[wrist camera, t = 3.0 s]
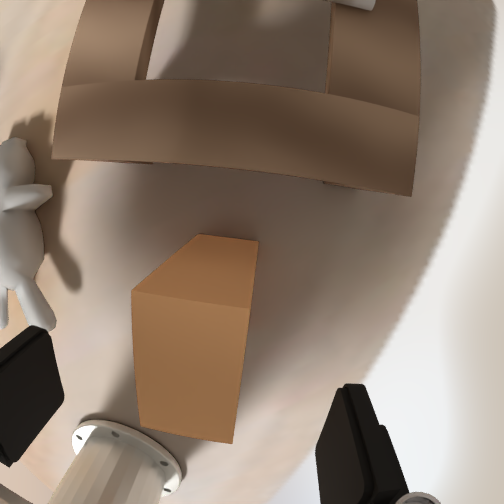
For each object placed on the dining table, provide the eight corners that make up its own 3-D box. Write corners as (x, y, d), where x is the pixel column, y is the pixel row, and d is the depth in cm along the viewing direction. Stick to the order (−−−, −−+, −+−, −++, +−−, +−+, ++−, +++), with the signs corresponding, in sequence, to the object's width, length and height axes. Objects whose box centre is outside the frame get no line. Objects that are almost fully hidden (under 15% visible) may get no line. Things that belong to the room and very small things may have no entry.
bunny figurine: (25, 122, 16) (43, 345, 17) (65, 136, 21) (79, 323, 22) (-43, 155, 16) (-28, 333, 18) (-6, 160, 21) (8, 318, 23)
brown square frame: (358, 189, 20) (424, 199, 11) (121, 162, 20) (35, 158, 11) (370, -19, 16) (409, -89, 7) (164, -35, 16) (125, -104, 7)
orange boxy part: (247, 329, 22) (232, 443, 11) (192, 321, 22) (140, 426, 11) (258, 241, 21) (250, 308, 10) (198, 233, 21) (131, 290, 10)
